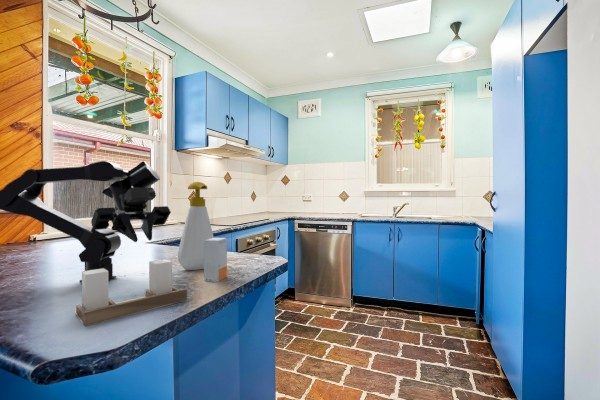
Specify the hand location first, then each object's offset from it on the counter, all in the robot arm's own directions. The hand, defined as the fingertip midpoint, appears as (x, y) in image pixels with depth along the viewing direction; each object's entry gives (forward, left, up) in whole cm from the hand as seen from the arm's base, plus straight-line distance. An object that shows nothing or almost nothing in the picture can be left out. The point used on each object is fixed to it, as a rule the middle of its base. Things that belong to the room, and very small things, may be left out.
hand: (143, 240), depth 78 cm
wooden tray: (+9, -13, -13) cm, 20 cm away
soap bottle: (+3, +21, -13) cm, 25 cm away
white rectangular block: (+10, -6, -12) cm, 17 cm away
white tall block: (+4, -17, -12) cm, 21 cm away
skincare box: (+15, +11, -13) cm, 22 cm away
